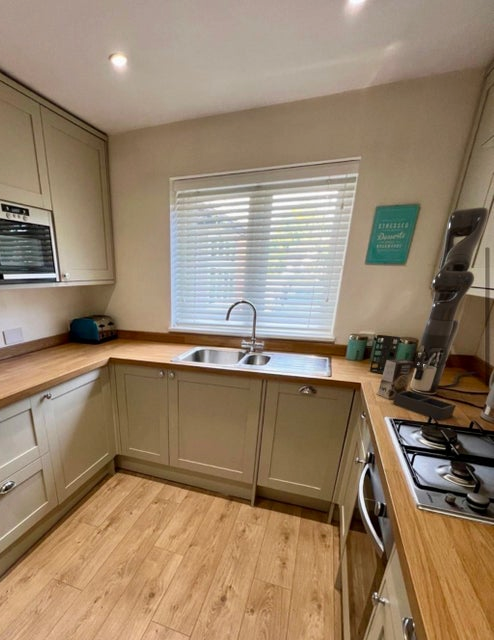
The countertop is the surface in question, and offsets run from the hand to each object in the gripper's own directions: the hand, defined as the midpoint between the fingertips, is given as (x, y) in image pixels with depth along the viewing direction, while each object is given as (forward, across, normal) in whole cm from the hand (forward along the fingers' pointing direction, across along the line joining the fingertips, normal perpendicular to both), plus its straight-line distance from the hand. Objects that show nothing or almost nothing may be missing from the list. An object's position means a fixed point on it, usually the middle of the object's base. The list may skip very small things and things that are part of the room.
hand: (422, 378), depth 121 cm
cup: (+4, 0, 0) cm, 4 cm away
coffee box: (+16, +15, +17) cm, 28 cm away
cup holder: (+16, +11, +2) cm, 19 cm away
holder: (+16, +47, +43) cm, 66 cm away
